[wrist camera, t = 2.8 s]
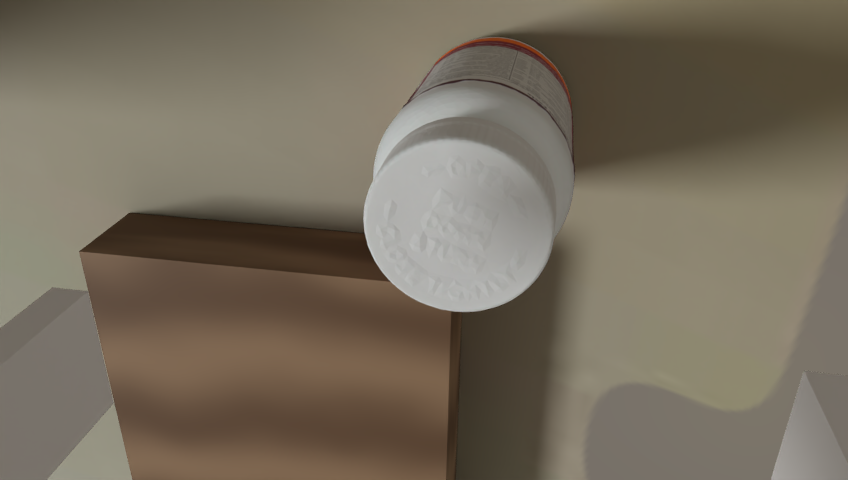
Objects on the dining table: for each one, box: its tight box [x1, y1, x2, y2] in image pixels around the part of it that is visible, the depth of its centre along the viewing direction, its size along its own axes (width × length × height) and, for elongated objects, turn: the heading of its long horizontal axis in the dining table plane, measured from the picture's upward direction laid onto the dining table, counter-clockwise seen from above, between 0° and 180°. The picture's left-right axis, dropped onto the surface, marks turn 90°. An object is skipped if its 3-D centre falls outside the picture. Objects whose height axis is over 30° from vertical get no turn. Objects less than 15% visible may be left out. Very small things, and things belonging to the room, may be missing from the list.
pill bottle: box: [363, 37, 575, 312], centre depth 24 cm, size 6×6×11 cm
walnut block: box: [79, 213, 462, 480], centre depth 35 cm, size 16×16×4 cm
